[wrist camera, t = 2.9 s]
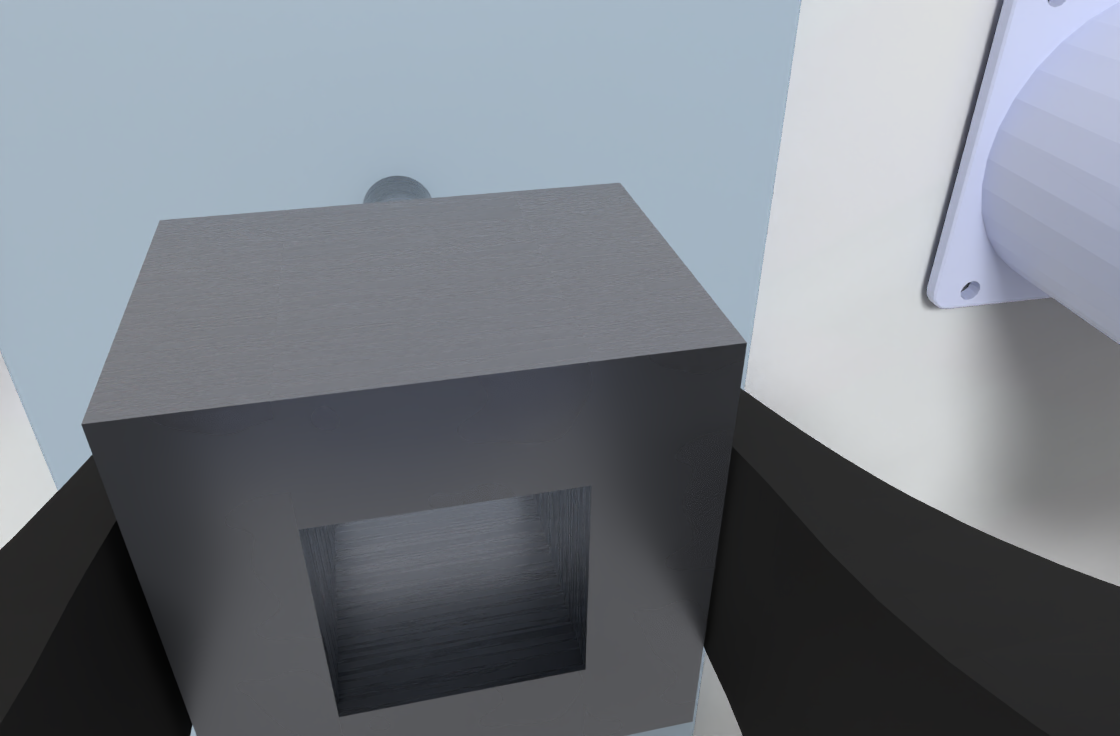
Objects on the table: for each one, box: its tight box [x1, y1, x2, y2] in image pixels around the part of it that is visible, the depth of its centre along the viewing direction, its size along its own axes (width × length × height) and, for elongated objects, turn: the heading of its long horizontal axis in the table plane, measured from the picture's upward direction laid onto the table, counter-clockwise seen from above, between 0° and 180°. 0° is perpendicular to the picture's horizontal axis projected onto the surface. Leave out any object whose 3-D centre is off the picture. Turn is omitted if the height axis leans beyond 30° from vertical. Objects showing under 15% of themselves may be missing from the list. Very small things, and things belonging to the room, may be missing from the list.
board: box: [0, 0, 801, 736], centre depth 22 cm, size 16×26×1 cm, turn 1°
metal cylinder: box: [363, 176, 432, 204], centre depth 16 cm, size 1×1×2 cm
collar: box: [81, 183, 747, 736], centre depth 10 cm, size 6×6×4 cm
